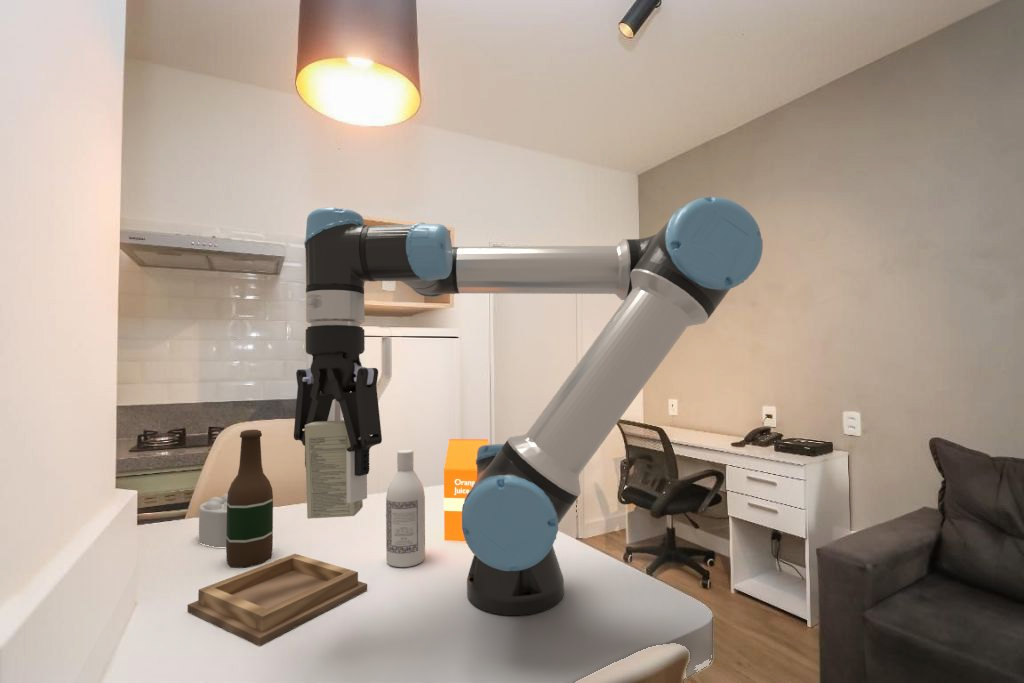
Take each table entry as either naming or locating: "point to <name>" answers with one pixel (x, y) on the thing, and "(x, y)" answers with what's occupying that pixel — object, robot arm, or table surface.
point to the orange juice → (458, 482)
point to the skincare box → (327, 470)
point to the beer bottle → (249, 508)
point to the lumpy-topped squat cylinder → (213, 521)
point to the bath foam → (405, 515)
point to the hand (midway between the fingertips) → (336, 496)
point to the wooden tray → (276, 597)
